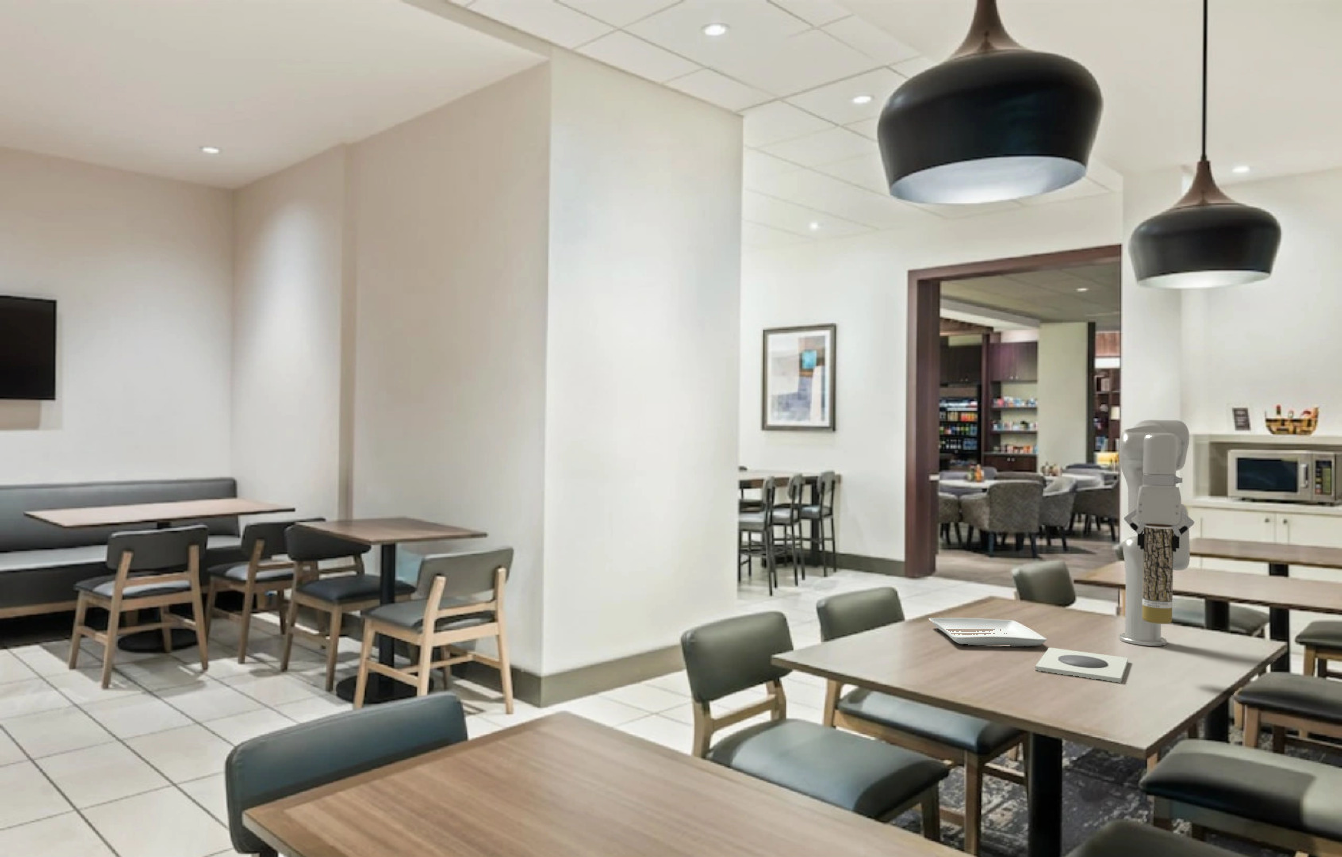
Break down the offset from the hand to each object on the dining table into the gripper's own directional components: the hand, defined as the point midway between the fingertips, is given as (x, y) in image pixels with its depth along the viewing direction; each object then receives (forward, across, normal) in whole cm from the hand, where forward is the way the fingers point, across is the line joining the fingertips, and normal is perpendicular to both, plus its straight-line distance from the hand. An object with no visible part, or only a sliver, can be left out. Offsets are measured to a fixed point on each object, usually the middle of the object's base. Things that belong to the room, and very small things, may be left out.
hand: (1158, 549), depth 228 cm
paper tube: (+19, 0, 0) cm, 19 cm away
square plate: (+33, +46, -17) cm, 59 cm away
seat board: (+33, +17, +2) cm, 37 cm away
